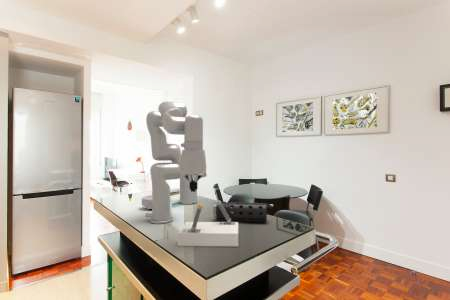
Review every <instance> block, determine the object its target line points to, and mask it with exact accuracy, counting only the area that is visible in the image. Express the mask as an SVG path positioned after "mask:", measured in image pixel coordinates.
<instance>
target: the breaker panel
mask: <svg viewBox="0 0 450 300" xmlns="http://www.w3.org/2000/svg"><path fill="white" fill-rule="evenodd" d="M193 222H194V221H186V222H185V223H184V224H183V225H182V227H181V228H180V229H179V231H178V232H177V234H176V235H177V236H176V237H177V240H176V241H177V247H239V222H238V221H231V223H230V224H228V223H227V221H198V223H197V227H196V229H195V231H191V228H192V225H193Z"/></svg>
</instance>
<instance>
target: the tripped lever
mask: <svg viewBox="0 0 450 300" xmlns="http://www.w3.org/2000/svg"><path fill="white" fill-rule="evenodd" d="M203 206H204V204H203V203H199V204H198V206H197V208H196V209H197V210H196V212H195V216H194V218H193V221H192V222H193V225H192V228H191V231H195V229H196V227H197V223H198V222H199V219H200V215H201V212H202V210H203Z"/></svg>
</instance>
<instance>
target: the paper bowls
mask: <svg viewBox="0 0 450 300" xmlns="http://www.w3.org/2000/svg"><path fill="white" fill-rule="evenodd" d="M141 206H143V207H144V208H145V209H146V208H147V209H152V194H151V195H144V196H142V197H141ZM147 209H146V210H147Z"/></svg>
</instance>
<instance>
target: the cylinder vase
mask: <svg viewBox="0 0 450 300" xmlns="http://www.w3.org/2000/svg"><path fill="white" fill-rule="evenodd" d="M187 175H188V174H187ZM192 178H193V181H194V179H195V175H192ZM196 202H197V203H198V188H197V189H196V191H195V192H191V189H190V182H189V181H188V180H187V178H185V177H181V178H179V203H180V204H181V203H182V204H181V205H184V204H190V205H193V204H192V203H195V204H197V203H196Z"/></svg>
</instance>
